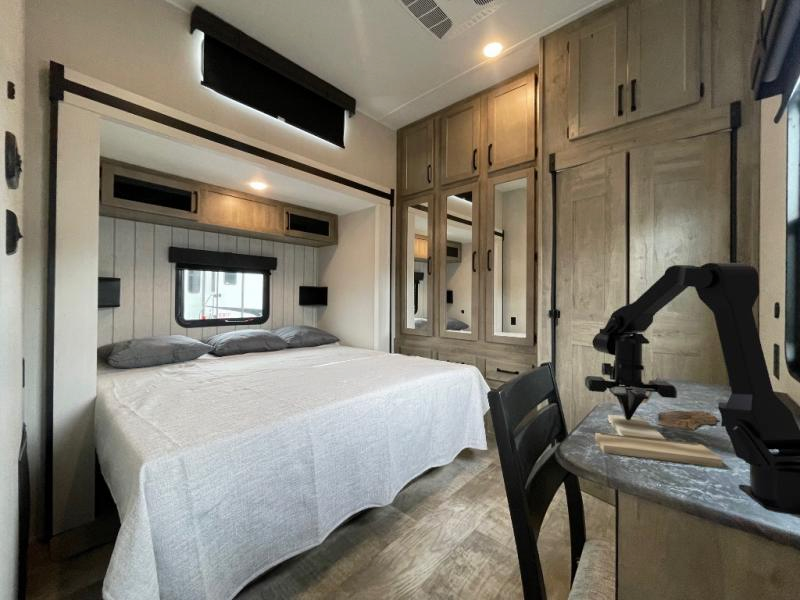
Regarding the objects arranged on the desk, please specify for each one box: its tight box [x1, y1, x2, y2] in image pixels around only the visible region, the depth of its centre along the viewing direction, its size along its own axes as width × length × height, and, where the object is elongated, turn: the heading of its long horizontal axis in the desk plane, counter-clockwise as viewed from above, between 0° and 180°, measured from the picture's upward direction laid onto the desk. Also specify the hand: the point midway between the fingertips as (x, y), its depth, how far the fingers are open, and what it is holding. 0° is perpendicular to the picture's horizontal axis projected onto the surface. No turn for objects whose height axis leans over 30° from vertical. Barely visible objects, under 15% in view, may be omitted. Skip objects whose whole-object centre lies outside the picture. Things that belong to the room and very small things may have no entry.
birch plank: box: [607, 414, 667, 441], centre depth 80 cm, size 13×8×2 cm, turn 161°
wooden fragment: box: [657, 410, 721, 432], centre depth 90 cm, size 26×11×1 cm, turn 115°
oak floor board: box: [595, 432, 723, 468], centre depth 70 cm, size 7×20×2 cm, turn 71°
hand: (627, 419), depth 84 cm, fingers closed, pressing on birch plank
